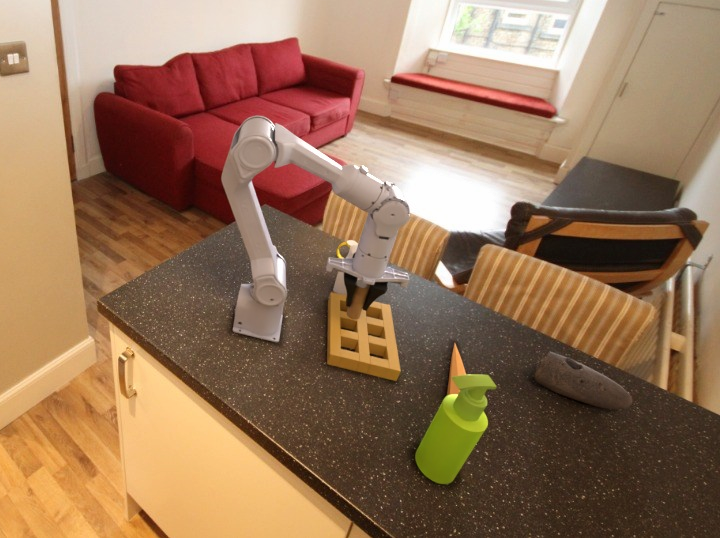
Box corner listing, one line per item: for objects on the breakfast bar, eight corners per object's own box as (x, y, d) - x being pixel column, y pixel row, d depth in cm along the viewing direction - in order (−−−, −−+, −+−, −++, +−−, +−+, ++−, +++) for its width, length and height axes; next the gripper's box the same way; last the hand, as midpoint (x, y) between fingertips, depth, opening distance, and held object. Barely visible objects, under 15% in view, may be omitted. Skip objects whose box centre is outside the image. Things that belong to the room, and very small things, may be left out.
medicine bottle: (370, 288, 106) (384, 247, 100) (362, 304, 101) (376, 262, 95) (341, 276, 109) (353, 235, 103) (332, 291, 104) (344, 250, 98)
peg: (346, 318, 87) (356, 286, 84) (346, 309, 90) (355, 278, 86) (360, 321, 87) (370, 289, 83) (359, 312, 89) (369, 281, 85)
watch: (333, 260, 115) (338, 241, 112) (336, 254, 117) (341, 236, 114) (356, 268, 112) (362, 249, 109) (359, 263, 114) (365, 244, 111)
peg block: (327, 364, 85) (330, 354, 84) (328, 301, 101) (330, 291, 100) (396, 381, 83) (400, 371, 82) (386, 314, 99) (390, 304, 97)
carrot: (463, 428, 76) (483, 415, 74) (440, 410, 77) (459, 397, 75) (456, 355, 93) (472, 342, 91) (437, 341, 94) (453, 328, 92)
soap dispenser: (402, 447, 72) (444, 362, 62) (442, 445, 73) (490, 361, 63) (420, 485, 67) (469, 399, 57) (462, 483, 68) (518, 398, 58)
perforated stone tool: (619, 405, 82) (640, 380, 79) (625, 427, 78) (647, 402, 75) (526, 366, 89) (541, 342, 85) (527, 385, 85) (543, 360, 81)
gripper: (333, 253, 78) (317, 310, 85) (420, 270, 76) (397, 328, 82) (333, 231, 84) (319, 286, 91) (413, 247, 82) (392, 303, 88)
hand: (356, 305), depth 87 cm, fingers closed on peg, 2 cm apart
